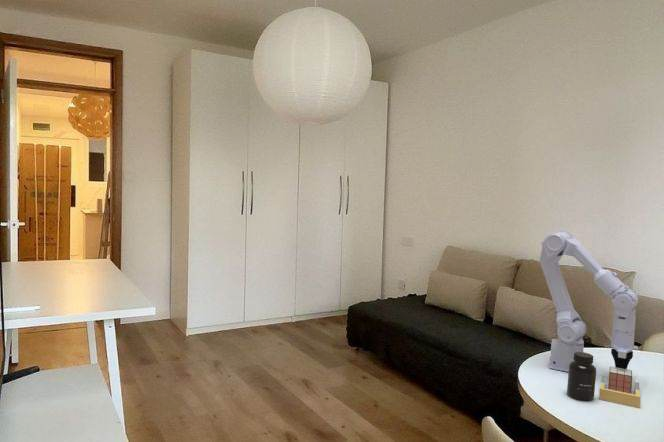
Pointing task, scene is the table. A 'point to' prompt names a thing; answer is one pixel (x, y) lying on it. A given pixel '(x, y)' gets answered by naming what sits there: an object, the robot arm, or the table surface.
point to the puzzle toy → (620, 379)
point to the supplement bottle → (581, 377)
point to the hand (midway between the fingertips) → (620, 374)
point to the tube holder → (620, 395)
